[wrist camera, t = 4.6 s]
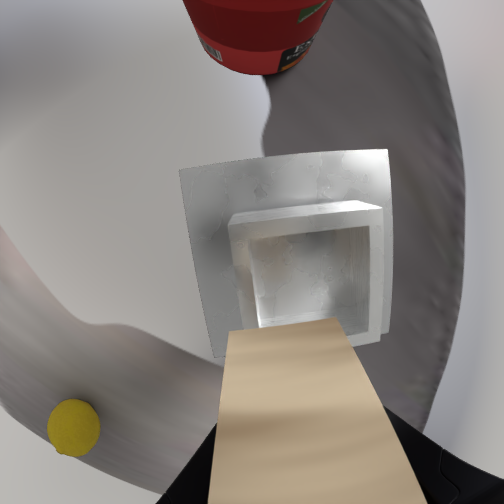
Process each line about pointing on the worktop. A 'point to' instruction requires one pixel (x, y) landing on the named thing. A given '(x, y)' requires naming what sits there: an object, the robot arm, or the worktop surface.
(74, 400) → the lemon
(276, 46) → the canned food
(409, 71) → the worktop surface
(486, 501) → the robot arm
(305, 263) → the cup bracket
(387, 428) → the rail end
